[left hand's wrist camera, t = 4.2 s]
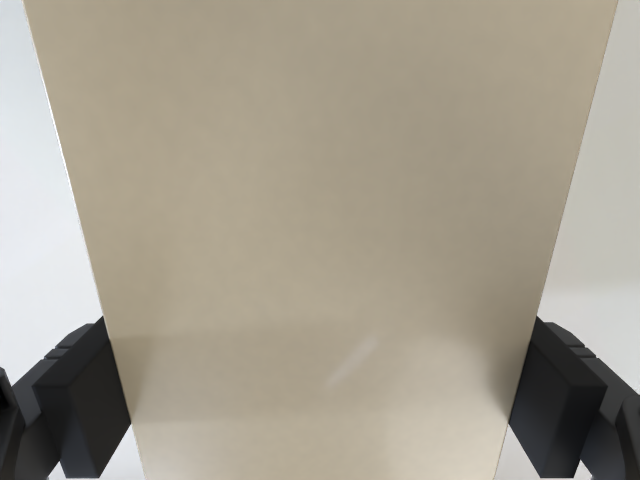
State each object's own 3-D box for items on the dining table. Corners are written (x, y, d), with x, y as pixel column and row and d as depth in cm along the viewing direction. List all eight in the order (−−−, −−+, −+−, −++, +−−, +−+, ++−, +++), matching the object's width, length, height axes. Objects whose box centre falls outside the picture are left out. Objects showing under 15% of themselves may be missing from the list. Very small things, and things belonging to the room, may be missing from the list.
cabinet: (183, -172, 13) (-258, -1059, 3) (456, -172, 13) (896, -1057, 3) (232, 302, 20) (147, 493, 10) (407, 302, 20) (491, 493, 10)
